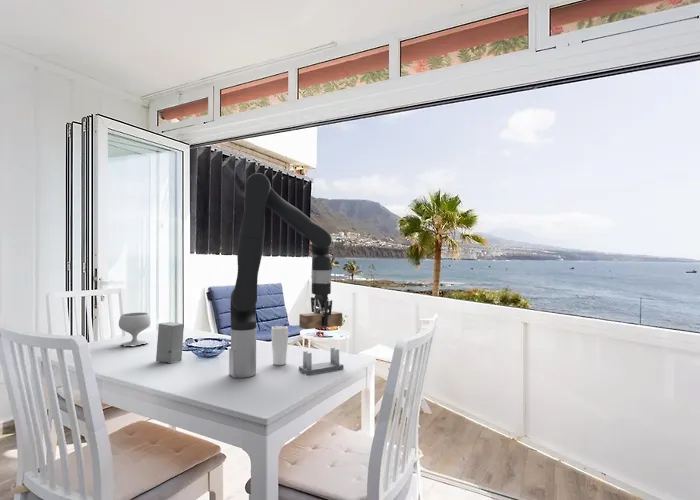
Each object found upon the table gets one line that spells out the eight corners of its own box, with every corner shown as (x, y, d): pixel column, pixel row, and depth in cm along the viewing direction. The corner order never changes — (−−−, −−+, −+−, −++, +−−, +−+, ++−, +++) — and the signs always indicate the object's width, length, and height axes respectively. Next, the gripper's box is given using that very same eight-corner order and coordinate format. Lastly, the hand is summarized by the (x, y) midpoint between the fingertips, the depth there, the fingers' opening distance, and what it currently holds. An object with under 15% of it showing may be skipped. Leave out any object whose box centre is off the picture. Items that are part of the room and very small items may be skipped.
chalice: (130, 341, 210) (130, 312, 210) (156, 341, 208) (156, 312, 209) (111, 347, 196) (112, 316, 196) (139, 348, 195) (139, 316, 195)
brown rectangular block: (305, 329, 153) (305, 316, 153) (299, 327, 158) (299, 314, 158) (342, 325, 162) (342, 313, 162) (335, 323, 166) (335, 311, 166)
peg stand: (306, 374, 152) (306, 354, 152) (298, 370, 158) (298, 350, 158) (343, 368, 160) (343, 349, 160) (334, 364, 166) (335, 346, 166)
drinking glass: (284, 366, 163) (284, 329, 163) (268, 365, 165) (268, 328, 165) (290, 362, 170) (290, 326, 170) (275, 361, 171) (275, 325, 171)
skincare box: (155, 361, 170) (155, 323, 170) (169, 357, 177) (169, 321, 177) (171, 363, 167) (171, 325, 167) (184, 359, 174) (184, 322, 174)
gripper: (304, 281, 164) (304, 323, 164) (321, 283, 152) (321, 328, 152) (321, 280, 168) (321, 321, 168) (338, 282, 156) (338, 327, 156)
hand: (321, 324), depth 160 cm, fingers closed on brown rectangular block, 5 cm apart
